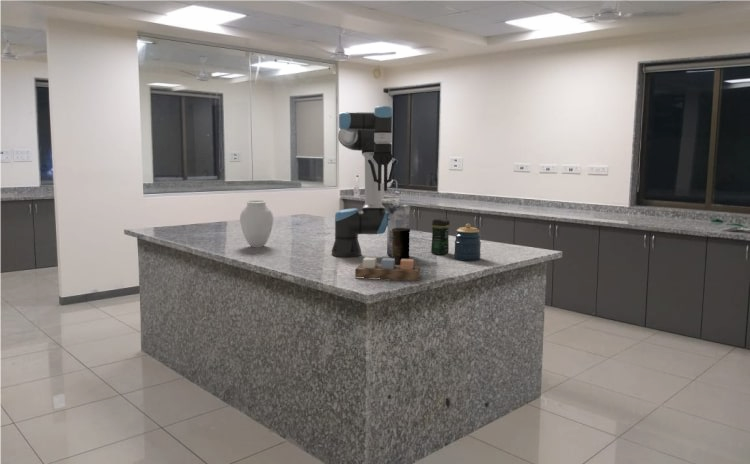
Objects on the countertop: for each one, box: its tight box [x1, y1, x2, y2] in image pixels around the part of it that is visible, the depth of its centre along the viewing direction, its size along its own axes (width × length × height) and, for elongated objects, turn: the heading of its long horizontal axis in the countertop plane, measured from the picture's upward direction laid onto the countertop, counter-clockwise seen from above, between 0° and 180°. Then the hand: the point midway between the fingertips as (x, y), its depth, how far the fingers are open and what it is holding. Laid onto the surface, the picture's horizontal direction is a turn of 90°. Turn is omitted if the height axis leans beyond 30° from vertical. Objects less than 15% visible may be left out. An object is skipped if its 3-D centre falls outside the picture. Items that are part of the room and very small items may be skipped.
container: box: [391, 228, 411, 265], centre depth 260 cm, size 9×9×18 cm
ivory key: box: [362, 256, 377, 268], centre depth 244 cm, size 5×5×6 cm
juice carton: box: [386, 201, 411, 257], centre depth 291 cm, size 9×10×27 cm
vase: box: [239, 200, 274, 248], centre depth 314 cm, size 18×18×25 cm
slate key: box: [381, 257, 395, 269], centre depth 243 cm, size 5×5×6 cm
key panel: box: [355, 263, 421, 282], centre depth 243 cm, size 26×11×4 cm, turn 81°
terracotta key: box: [400, 258, 415, 270], centre depth 241 cm, size 5×5×6 cm
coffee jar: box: [430, 217, 450, 255], centre depth 298 cm, size 10×8×19 cm
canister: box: [453, 223, 482, 262], centre depth 284 cm, size 13×13×18 cm
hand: (382, 198), depth 248 cm, fingers closed
